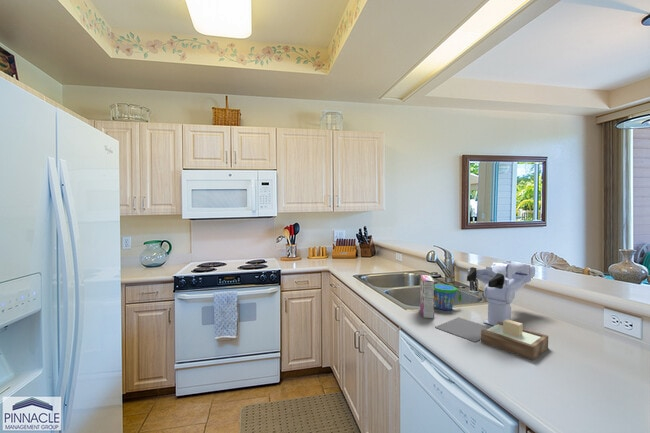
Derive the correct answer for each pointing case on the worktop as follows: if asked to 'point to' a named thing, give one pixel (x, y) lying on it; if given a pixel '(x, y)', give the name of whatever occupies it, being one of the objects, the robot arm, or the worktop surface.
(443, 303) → the snack cup
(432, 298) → the candy bar box
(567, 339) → the worktop surface
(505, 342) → the walnut box
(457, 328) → the charcoal mat
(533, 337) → the cover plate
